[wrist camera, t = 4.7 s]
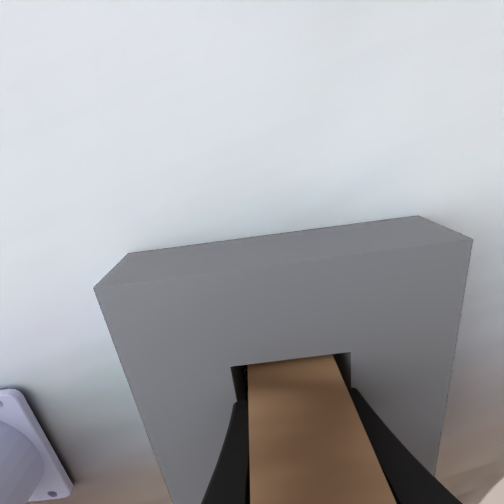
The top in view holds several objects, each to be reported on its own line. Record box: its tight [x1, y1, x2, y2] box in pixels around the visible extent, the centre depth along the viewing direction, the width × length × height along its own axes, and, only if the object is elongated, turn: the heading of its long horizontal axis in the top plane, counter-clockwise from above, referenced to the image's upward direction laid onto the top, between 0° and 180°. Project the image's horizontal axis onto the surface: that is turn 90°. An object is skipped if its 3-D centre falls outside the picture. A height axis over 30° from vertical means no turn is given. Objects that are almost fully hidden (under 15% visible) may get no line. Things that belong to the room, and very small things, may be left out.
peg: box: [248, 354, 397, 504], centre depth 10 cm, size 3×3×8 cm
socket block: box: [93, 216, 473, 504], centre depth 10 cm, size 12×14×9 cm
